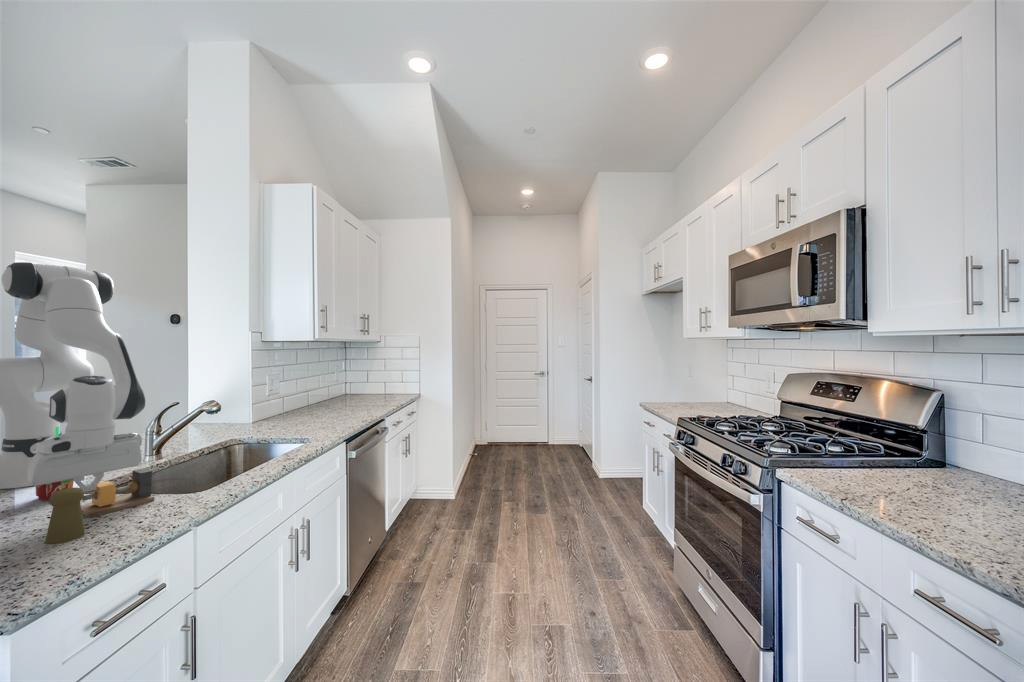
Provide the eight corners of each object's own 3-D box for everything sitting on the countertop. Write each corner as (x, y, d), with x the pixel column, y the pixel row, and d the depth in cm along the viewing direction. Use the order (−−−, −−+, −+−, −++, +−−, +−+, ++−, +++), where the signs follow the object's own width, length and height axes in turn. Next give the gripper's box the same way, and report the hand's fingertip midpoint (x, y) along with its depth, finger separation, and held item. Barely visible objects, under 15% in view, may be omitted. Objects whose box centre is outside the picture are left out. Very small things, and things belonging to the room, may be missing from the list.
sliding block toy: (75, 510, 103) (76, 479, 103) (139, 494, 115) (140, 466, 115) (89, 517, 99) (90, 486, 99) (154, 500, 111) (155, 472, 111)
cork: (57, 546, 85) (59, 495, 86) (37, 542, 87) (39, 492, 87) (92, 533, 91) (94, 486, 91) (72, 530, 92) (74, 483, 93)
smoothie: (70, 498, 110) (73, 427, 111) (25, 505, 106) (28, 430, 106) (80, 489, 117) (83, 422, 118) (38, 495, 113) (41, 425, 113)
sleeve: (91, 503, 104) (92, 484, 104) (107, 499, 107) (107, 480, 107) (99, 506, 102) (100, 487, 102) (115, 502, 105) (115, 484, 105)
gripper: (137, 430, 113) (135, 478, 113) (26, 445, 95) (24, 502, 95) (147, 432, 110) (145, 482, 110) (34, 449, 92) (32, 508, 92)
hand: (88, 491), depth 102 cm, fingers closed
